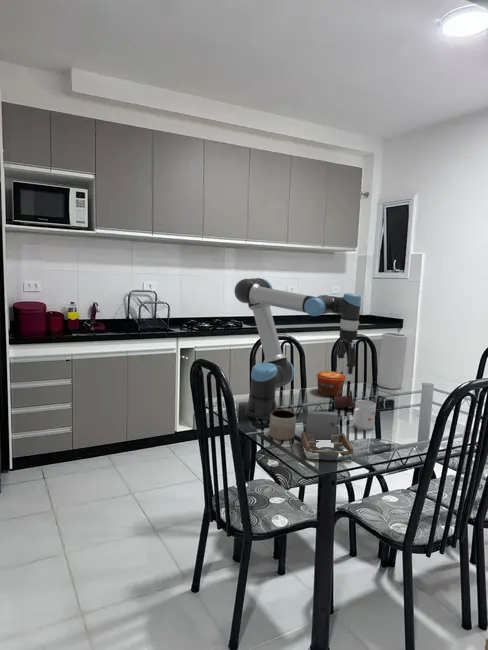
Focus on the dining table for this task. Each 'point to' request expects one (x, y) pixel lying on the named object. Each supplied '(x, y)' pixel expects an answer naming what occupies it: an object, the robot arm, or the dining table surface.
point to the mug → (364, 414)
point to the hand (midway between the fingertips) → (343, 376)
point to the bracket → (344, 401)
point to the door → (321, 424)
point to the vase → (392, 360)
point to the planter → (282, 424)
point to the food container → (330, 383)
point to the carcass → (338, 441)
